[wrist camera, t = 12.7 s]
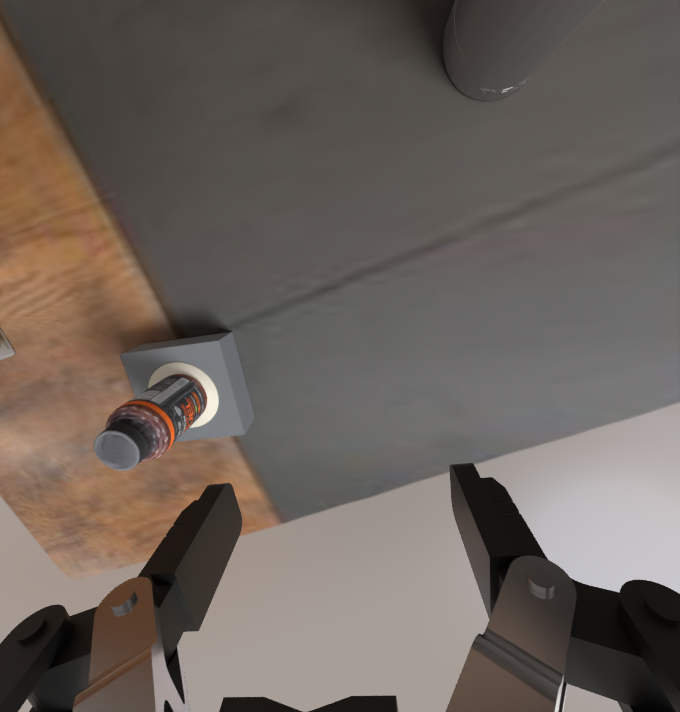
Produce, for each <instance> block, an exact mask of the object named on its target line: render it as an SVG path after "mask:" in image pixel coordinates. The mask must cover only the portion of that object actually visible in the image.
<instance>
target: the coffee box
mask: <svg viewBox="0 0 680 712" xmlns="http://www.w3.org/2000/svg"><path fill="white" fill-rule="evenodd" d="M13 355H15V352H14V350H13V348H12V347H11V345H10V343H9V342H8V340H7V338H6V337H5V335H4V333H3V332H2V330H1V329H0V360H2V359H5V358H8V357H10V356H13Z"/></svg>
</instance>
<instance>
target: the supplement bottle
mask: <svg viewBox="0 0 680 712" xmlns="http://www.w3.org/2000/svg"><path fill="white" fill-rule="evenodd" d="M206 406H207V395H206V392H205V390H204V388H203V386H202V385H201V384H200V382H198V381H197V380H196V379H194V378H192V377H190V376H188V375H184V374H173V375H170V376H168V377H166V378H164V379H162V380H161V381H159V382H158V383H156V384H154V385H153V386H151V387H150V388H148V389H147V390H145V391H144V392H142V393H141V394H139V395H137V396H136V397H134V398H133V399H131V400H130V401H128V402H126V403H125V404H124V405H122V406H120V407H119V408H118V409H116V410H115V411H114V412H113V413H112V414H111V415H110V416H109V418H108V420H107V424H106V430H105V431H103V432H102V433H100V434H99V435H98V436H97V438H96V440H95V442H94V450H95V453H96V455H97V457H98V458H99V459H100V461H101V462H103V464H105V465H106V466H108V467H110V468H112V469H115V470H120V471H125V470H130V469H132V468H134V467H135V466H136V465H137V464H138V463H139V462H141V461H142V462H144V461H151V460H154V459H156V458H158V457H160V456H161V455H163V454H164V453H165V452H166V451H167V450H168V449H169V448H170V447H171V446H172V445H173V444H174V443H175V442H176V441H177V440H178V439H179V438H180V436H181V435H183V433H184V432H185V431H186V430H187V429H188V428H189V427H190V426H191V425H192V424H193V423H194V422H195V421H196V420H197V419H198V418H199V417H200V416H201V415H202V414H203V412H204V411H205V409H206Z"/></svg>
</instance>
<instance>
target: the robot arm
mask: <svg viewBox="0 0 680 712" xmlns="http://www.w3.org/2000/svg"><path fill="white" fill-rule="evenodd" d="M606 2H607V0H455V2H454V4H453V7H452V10H451V12H450V15H449V18H448V21H447V24H446V27H445V31H444V38H443V58H444V63H445V67H446V70H447V73H448V75H449V77H450V79H451V81H452V82H453V84H454V85H455V86H456V88H457V89H458V90H460V91H461V92H462V93H463V94H465V95H466V96H468V97H471V98H473V99H476V100H481V101H492V100H497V99H501V98H504V97H506V96H508V95H510V94H512V93H513V92H515V91H517V90H518V89H519V88H520V87H521V86H523V85H524V84H525V83H526V82H527V81H528V80H529V79H530V78H531V77H532V76H533V75H534V74H535V73H536V72H537V71H538V70H539V69H540V68H541V67H542V66H543V65H544V64H545V63H546V62H547V61H548V60H549V59H550V58H551V57H552V56H553V55H554V54H555V53H556V52H557V51H558V50H559V49H560V48H561V47H562V46H563V45H564V44H565V43H566V42H567V41H568V40H569V39H570V38H571V37H572V36H573V35H574V34H575V33H576V32H577V31H578V30H579V29H580V28H581V27H582V26H583V25H584V24H585V23H586V22H587V21H588V20H589V19H590V18H591V17H592V16H593V15H594V14H595V13H596V12H597V11H598V10H599V9H600V8H601V7H602V6H603V5H604V4H605V3H606ZM450 481H451V500H452V507H453V512H454V517H455V520H456V523H457V526H458V529H459V532H460V535H461V538H462V541H463V543H464V546H465V549H466V552H467V555H468V558H469V561H470V564H471V567H472V570H473V573H474V576H475V579H476V581H477V584H478V587H479V590H480V593H481V596H482V599H483V602H484V605H485V608H486V611H487V614H488V617H489V622H488V625H487V628H486V630H485V632H484V634H483V635H481V634H478V635H477V636H476V638H475V640H474V642H473V644H472V646H471V649H470V651H469V654H468V656H467V659H466V661H465V664H464V667H463V669H462V672H461V674H460V677H459V679H458V682H457V684H456V687H455V689H454V692H453V694H452V697H451V699H450V702H449V705H448V707H447V710H446V712H563V710H564V703H565V697H566V691H567V685H568V684H570V685H573V686H576V687H579V688H582V689H585V690H587V691H590V692H593V693H596V694H599V695H601V696H604V697H607V698H610V699H613V700H616V701H618V703H619V705H620V707H621V709H622V711H623V712H680V594H679V593H677V592H675V591H673V590H672V589H670V588H668V587H665V586H663V585H661V584H658V583H655V582H651V581H646V580H632V581H628V582H626V583H625V584H624V585H623V586H622V588H621V590H620V593H619V592H614V591H610V590H606V589H602V588H598V587H593V586H589V585H586V584H582V583H580V582H577V581H575V580H573V579H571V578H570V577H569V576H568V575H567V574H566V573H565V571H563V569H561V568H560V567H559V566H557V565H556V564H554V563H553V562H551V561H549V560H548V559H547V557H546V556H545V554H544V553H543V551H542V549H541V548H540V546H539V544H538V542H537V541H536V539H535V537H534V536H533V534H532V532H531V531H530V529H529V527H528V526H527V524H526V522H525V521H524V519H523V518H522V516H521V514H519V511H518V509H517V507H516V505H515V504H514V503H513V501H512V499H511V497H510V495H509V494H508V492H507V490H506V489H505V487H503V486H502V485H501V484H500V483H498V482H497V481H496V480H495V479H493V478H491V477H490V478H480V476H479V474H478V472H477V470H476V468H475V466H474V464H473V463H466V464H454V465H450ZM241 528H242V516H241V512H240V509H239V506H238V503H237V499H236V496H235V493H234V490H233V487H232V485H231V484H230V483H225V484H213V485H209V486H207V488H206V489H205V490H204V492H203V494H202V495H201V497H200V498H199V500H195V501H193V502H192V503H191V504H190V505H189V506H188V507H187V508H186V509H184V510H183V511H182V512H181V514H180V515H179V517H178V518H177V520H176V521H175V523H174V526H173V527H171V529H170V530H169V531H168V533H167V534H166V537H164V539H163V540H162V542H161V543H160V545H159V546H158V548H157V549H156V551H155V552H154V553H153V555H152V556H151V558H150V559H149V561H148V562H147V564H146V565H145V567H144V568H143V570H142V571H141V573H140V574H139V575H138V577H136V578H132V579H129V580H127V581H125V582H123V583H122V584H120V585H119V586H117V587H116V588H114V589H113V590H112V591H111V592H110V593H109V594H108V595H107V596H106V597H105V598H104V599H103V600H102V602H101V603H100V604H99V606H98V607H95V608H92V609H89V610H86V611H84V612H81V613H78V614H75V615H72V616H69V615H68V613H67V611H66V609H65V608H64V607H63V606H62V605H51V606H48V607H45V608H43V609H41V610H39V611H37V612H35V613H34V614H32V615H30V616H29V617H27V618H26V619H25V620H24V621H22V622H21V623H20V624H19V625H17V626H16V627H15V628H14V629H13V630H12V631H11V632H10V634H8V636H7V637H6V638H5V639H4V640H3V641H2V643H1V644H0V712H18V711H19V709H20V708H21V706H22V705H23V704H24V702H25V701H26V699H28V700H29V702H30V703H31V705H32V706H33V707H32V708H31V710H30V711H29V712H191V710H190V704H189V698H188V691H187V685H186V679H185V672H184V666H183V660H182V654H181V648H180V645H179V640H180V638H181V636H182V634H183V632H186V631H199V629H200V627H201V624H202V622H203V620H204V617H205V615H206V612H207V610H208V608H209V605H210V603H211V601H212V598H213V596H214V594H215V591H216V589H217V587H218V584H219V582H220V580H221V577H222V575H223V573H224V570H225V568H226V566H227V563H228V561H229V559H230V556H231V554H232V552H233V549H234V547H235V544H236V542H237V540H238V537H239V535H240V532H241ZM219 712H302V711H299V710H296V709H294V708H291V707H289V706H286V705H283V704H281V703H278V702H276V701H273V700H270V699H268V698H265V697H226V698H223V701H222V705H221V708H220V711H219ZM309 712H398V706H397V699H396V696H351V697H348V698H345V699H342V700H340V701H337V702H334V703H332V704H329V705H326V706H323V707H320V708H318V709H315V710H312V711H309Z"/></svg>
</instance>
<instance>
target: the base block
mask: <svg viewBox="0 0 680 712" xmlns="http://www.w3.org/2000/svg"><path fill="white" fill-rule="evenodd" d="M120 357H121V359H122V362H123V365H124V367H125V370H126V373H127V375H128V378H129V380H130V383H131V386H132V388H133V391H134V394H135V396H137V395H139V394H141V393H142V392H144V391H145V390H147V389H148V388H150V387H151V386H153V385H154V384H156V383H158V382H159V381H161V380H162V379H164V378H166V377H168V376H170V375H173V374H184V375H188V376H190V377H192V378H194V379H196V380H197V381H198V382H200V384H201V385H202V386H203V388H204V390H205V392H206V395H207V406H206V409H205V411H204V412H203V414H202V415H201V416H200V417H199V418H198V419H197V420H196V421H195V422H194V423H193V424H192V425H191V426H190V427H189V428H188V429H187V430H186V431H185V432H184V433H183V435H181V436H180V438H179V439H178V440H177V441H176V442H178V441H188V440H198V439H207V438H217V437H227V436H237V435H245V433H246V432H247V430H248V429H249V427H250V425H251V424H252V422H253V421H254V419H255V417H254V413H253V409H252V405H251V401H250V397H249V394H248V390H247V386H246V382H245V378H244V375H243V371H242V367H241V363H240V359H239V355H238V352H237V348H236V344H235V340H234V336H233V333H232V332H226V333H219V334H212V335H205V336H198V337H190V338H183V339H176V340H169V341H162V342H154V343H147V344H141V345H139V346H137V347H134V348H132V349H130V350H128V351H125V352H123V353H121V354H120Z"/></svg>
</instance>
